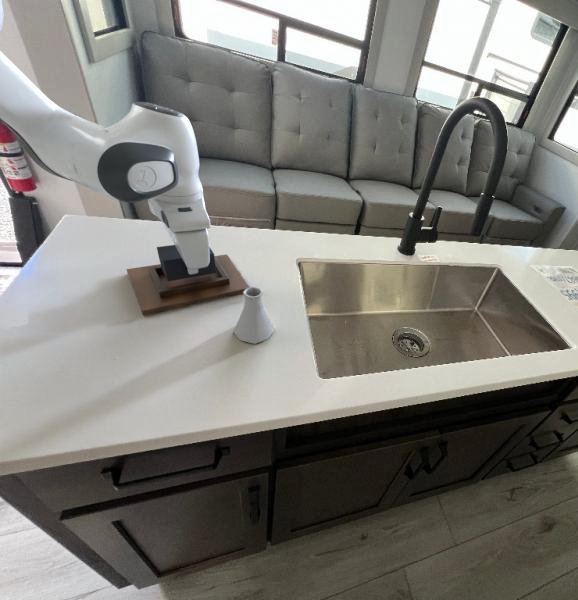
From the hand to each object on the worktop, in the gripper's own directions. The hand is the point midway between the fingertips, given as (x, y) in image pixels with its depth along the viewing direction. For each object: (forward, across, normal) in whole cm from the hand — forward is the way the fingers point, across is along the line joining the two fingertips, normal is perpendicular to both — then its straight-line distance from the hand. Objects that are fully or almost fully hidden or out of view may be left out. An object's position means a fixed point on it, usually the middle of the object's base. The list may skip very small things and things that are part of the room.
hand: (187, 263), depth 70 cm
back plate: (+5, 0, 0) cm, 5 cm away
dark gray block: (+2, 0, 0) cm, 2 cm away
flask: (+5, +20, +6) cm, 22 cm away
